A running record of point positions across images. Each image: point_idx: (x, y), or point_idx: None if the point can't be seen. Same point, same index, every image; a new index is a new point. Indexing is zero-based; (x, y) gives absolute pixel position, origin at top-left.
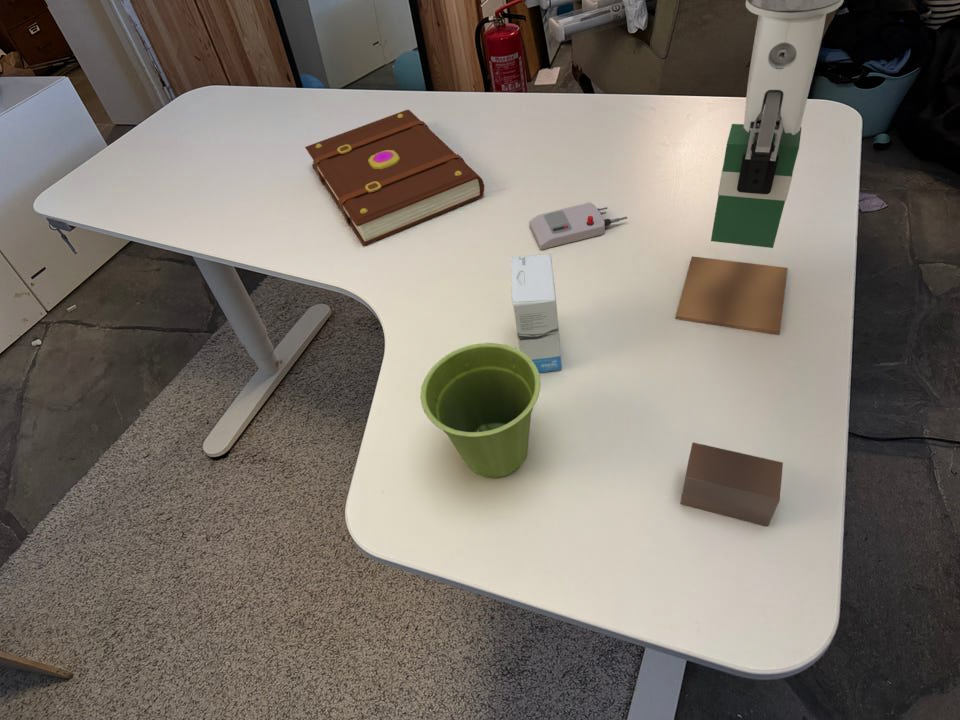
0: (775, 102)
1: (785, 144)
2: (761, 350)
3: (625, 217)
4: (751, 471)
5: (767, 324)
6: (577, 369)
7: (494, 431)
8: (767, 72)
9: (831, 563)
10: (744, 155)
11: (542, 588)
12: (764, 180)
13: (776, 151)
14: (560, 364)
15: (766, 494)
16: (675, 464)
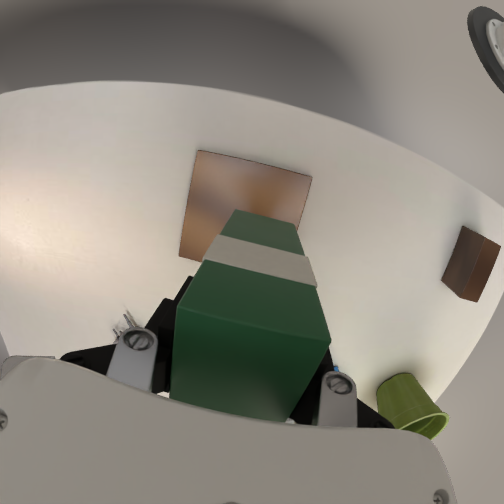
0: None
1: (302, 371)
2: (333, 199)
3: (125, 316)
4: (485, 260)
5: (300, 188)
6: (338, 356)
7: (447, 421)
8: None
9: (496, 203)
10: (289, 416)
11: (470, 347)
12: (328, 347)
13: (356, 402)
14: (338, 371)
15: (497, 253)
16: (435, 287)
